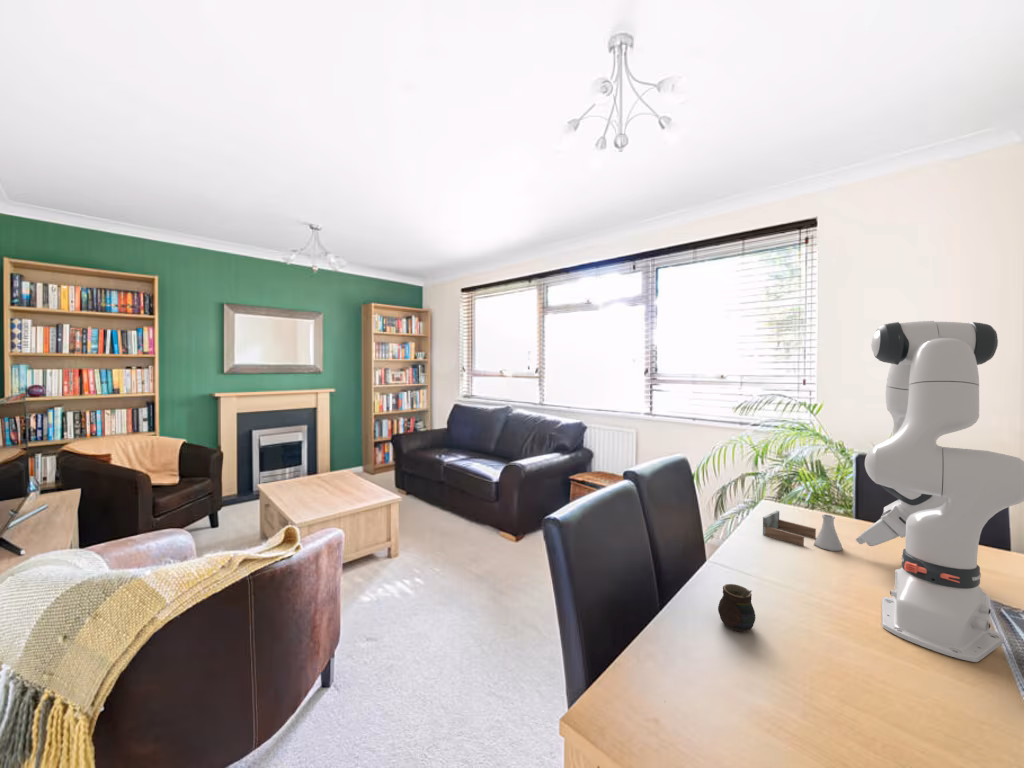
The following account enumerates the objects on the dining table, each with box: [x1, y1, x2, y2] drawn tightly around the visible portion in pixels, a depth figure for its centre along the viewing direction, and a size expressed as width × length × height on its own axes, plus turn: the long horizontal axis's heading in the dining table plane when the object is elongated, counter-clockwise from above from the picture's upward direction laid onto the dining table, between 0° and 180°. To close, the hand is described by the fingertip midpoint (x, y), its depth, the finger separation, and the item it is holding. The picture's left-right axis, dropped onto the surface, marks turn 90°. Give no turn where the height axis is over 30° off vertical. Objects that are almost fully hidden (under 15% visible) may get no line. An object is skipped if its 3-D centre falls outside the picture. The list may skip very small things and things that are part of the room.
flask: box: [813, 513, 843, 552], centre depth 130 cm, size 7×7×10 cm
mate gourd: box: [717, 583, 756, 633], centre depth 89 cm, size 7×8×10 cm
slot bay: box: [762, 510, 817, 547], centre depth 139 cm, size 12×12×6 cm
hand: (859, 540), depth 124 cm, fingers closed
